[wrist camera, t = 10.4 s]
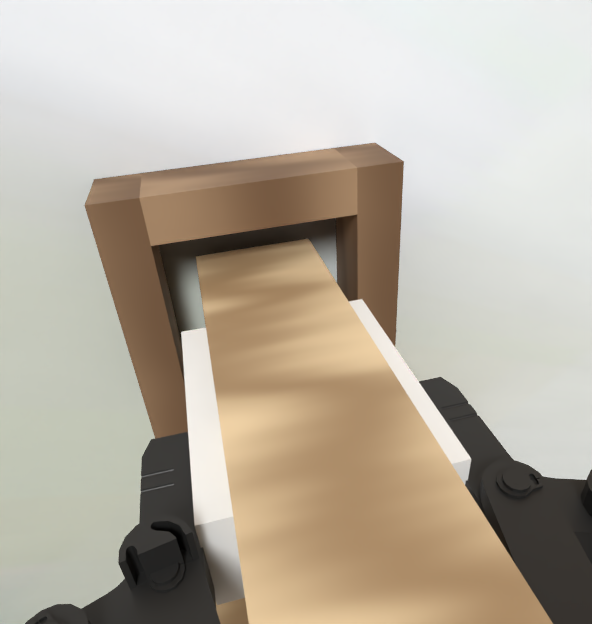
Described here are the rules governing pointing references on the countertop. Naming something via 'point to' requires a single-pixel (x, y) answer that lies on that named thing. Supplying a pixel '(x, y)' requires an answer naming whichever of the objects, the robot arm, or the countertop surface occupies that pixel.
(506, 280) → the countertop surface
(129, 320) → the collar block
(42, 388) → the countertop surface
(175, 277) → the countertop surface
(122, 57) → the countertop surface
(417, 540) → the long pin
